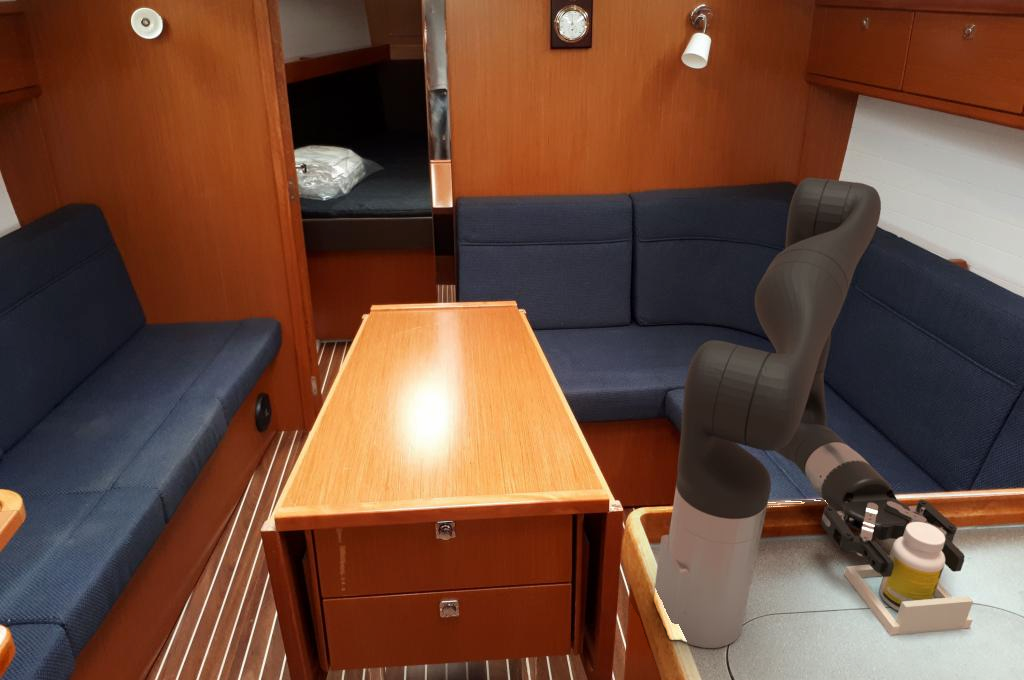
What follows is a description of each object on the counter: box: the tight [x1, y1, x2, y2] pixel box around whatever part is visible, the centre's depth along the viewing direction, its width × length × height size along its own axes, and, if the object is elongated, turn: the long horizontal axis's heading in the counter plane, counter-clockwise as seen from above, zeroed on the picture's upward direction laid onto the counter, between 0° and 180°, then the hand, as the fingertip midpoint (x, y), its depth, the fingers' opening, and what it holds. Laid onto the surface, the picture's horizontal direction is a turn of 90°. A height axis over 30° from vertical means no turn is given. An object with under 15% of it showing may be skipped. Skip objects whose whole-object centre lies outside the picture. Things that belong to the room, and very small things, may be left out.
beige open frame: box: [843, 564, 974, 636], centre depth 86 cm, size 10×10×4 cm
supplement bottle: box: [879, 521, 946, 611], centre depth 85 cm, size 5×5×10 cm
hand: (925, 568), depth 83 cm, fingers open, 8 cm apart
